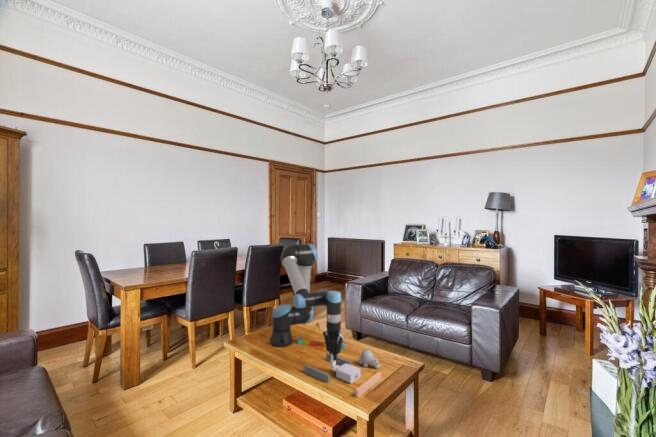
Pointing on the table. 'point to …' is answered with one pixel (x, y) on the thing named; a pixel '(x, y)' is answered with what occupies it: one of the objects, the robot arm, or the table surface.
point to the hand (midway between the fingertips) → (333, 365)
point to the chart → (313, 341)
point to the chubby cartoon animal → (369, 359)
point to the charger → (347, 372)
